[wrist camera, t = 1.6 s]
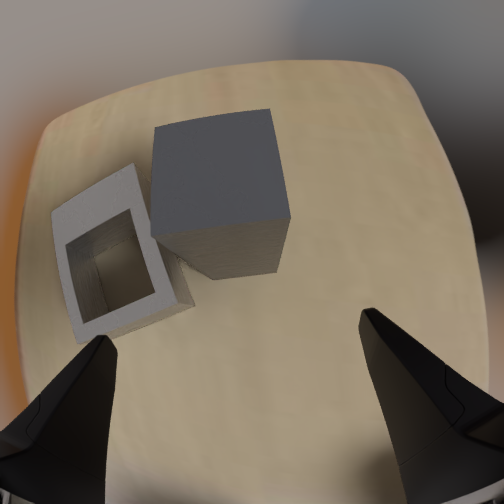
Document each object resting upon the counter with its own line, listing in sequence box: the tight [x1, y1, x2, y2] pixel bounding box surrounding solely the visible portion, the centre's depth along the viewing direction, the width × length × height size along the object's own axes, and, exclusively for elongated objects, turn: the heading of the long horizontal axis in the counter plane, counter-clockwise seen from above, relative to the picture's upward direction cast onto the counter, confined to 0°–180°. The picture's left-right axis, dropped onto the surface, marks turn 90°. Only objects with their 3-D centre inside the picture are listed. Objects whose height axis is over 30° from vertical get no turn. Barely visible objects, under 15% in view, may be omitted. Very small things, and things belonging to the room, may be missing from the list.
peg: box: [150, 109, 291, 280], centre depth 16 cm, size 5×5×12 cm
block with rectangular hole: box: [51, 162, 195, 344], centre depth 20 cm, size 12×9×4 cm
